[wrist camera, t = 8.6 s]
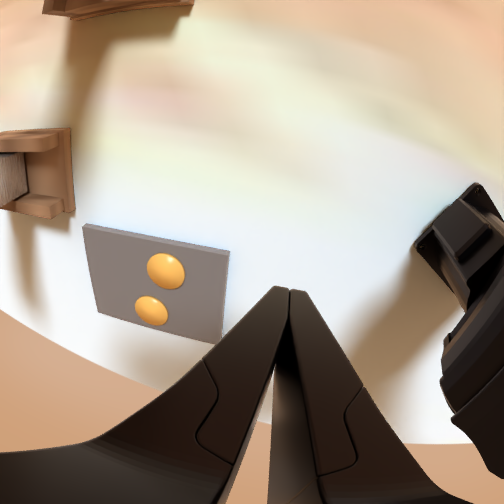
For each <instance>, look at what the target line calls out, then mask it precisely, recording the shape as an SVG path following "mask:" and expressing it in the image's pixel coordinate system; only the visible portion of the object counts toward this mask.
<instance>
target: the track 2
mask: <svg viewBox="0 0 504 504" xmlns="http://www.w3.org/2000/svg"><path fill="white" fill-rule="evenodd" d="M193 4H194V0H44V5H43V11H42V14H48V15H57V16H66V17H71V18H70V20H81V19H86V18H90V17H95V16H100V15H105V14H110V13H116V12H122V11H128V10H136V9H143V8H152V7H163V6H177V5H193Z"/></svg>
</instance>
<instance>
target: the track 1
mask: <svg viewBox="0 0 504 504" xmlns="http://www.w3.org/2000/svg"><path fill="white" fill-rule="evenodd" d="M0 152H24V163H25V173H26V181H27V189H28V191H27V192H26V193H24V194H22V195H20V196H19V197H17V198H15V199H14V200H12V201H10V202H9V203H7V204H5V205H4V206H2V207H0V209H4V210H8V211H13V212H18V213H23V214H28V215H33V216H38V217H43V218H48V219H52V218H54V217H55V216H57V215H58V214H59V213H61V212H62V211H63V212H68V213H70V212H72V211H73V210H75V209H76V208H75V199H74V189H73V178H72V163H71V141H70V128H50V129H30V130H15V131H4V132H1V133H0Z"/></svg>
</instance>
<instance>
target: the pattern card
mask: <svg viewBox="0 0 504 504" xmlns="http://www.w3.org/2000/svg"><path fill="white" fill-rule="evenodd" d="M82 229H83V236H84V243H85V249H86V255H87V261H88V266H89V272H90V277H91V282H92V287H93V291H94V296H95V300H96V305H97V309H98V312H99V313H102V314H106V315H109V316H112V317H115V318H118V319H122V320H125V321H128V322H132V323H135V324H138V325H142V326H145V327H149V328H153V329H156V330H160V331H164V332H167V333H171V334H175V335H179V336H183V337H187V338H191V339H195V340H199V341H203V342H207V343H212V344H217V343H218V342H219V341H220V340H221V338H222V327H223V316H224V305H225V294H226V284H227V274H228V264H229V254H230V251H227V250H221V249H216V248H211V247H206V246H200V245H195V244H190V243H185V242H180V241H174V240H169V239H164V238H159V237H154V236H148V235H143V234H138V233H133V232H128V231H123V230H117V229H112V228H107V227H102V226H97V225H92V224H87V223H86V224H85V225H84V226H82Z"/></svg>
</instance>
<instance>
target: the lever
mask: <svg viewBox="0 0 504 504" xmlns="http://www.w3.org/2000/svg"><path fill="white" fill-rule="evenodd" d="M27 191H28V189H27V181H26V173H25V163H24V152H0V207H2V206H4V205H5V204H7V203H9V202H10V201H12V200H14V199H15V198H17V197H19V196H20V195H22V194H24V193H26V192H27Z"/></svg>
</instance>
